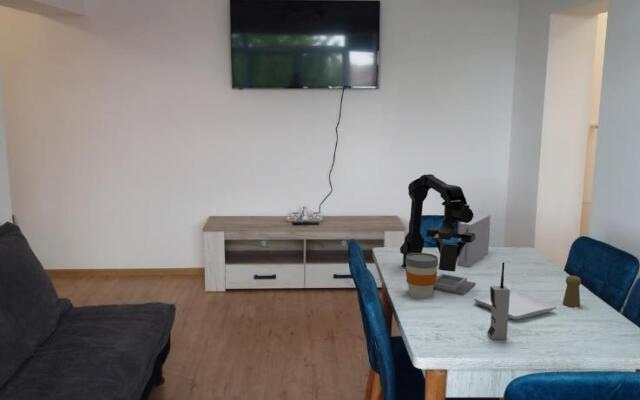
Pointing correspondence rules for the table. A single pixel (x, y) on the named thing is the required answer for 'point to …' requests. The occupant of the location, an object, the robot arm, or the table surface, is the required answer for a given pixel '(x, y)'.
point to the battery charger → (448, 256)
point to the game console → (480, 244)
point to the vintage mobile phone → (499, 310)
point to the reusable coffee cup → (421, 274)
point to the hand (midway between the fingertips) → (449, 255)
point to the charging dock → (453, 284)
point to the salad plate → (519, 304)
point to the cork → (572, 292)
